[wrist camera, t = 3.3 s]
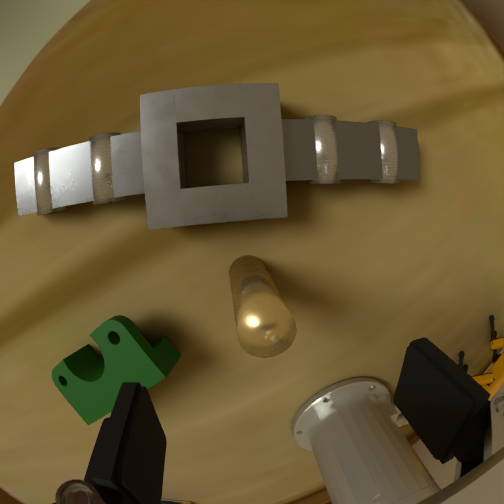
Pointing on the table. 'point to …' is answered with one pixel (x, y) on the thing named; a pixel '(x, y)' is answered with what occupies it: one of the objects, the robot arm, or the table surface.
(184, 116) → the grey metal bar
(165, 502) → the medicine bottle
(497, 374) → the robot dog
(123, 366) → the clamp
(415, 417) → the robot arm
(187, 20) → the table surface
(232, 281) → the pin
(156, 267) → the table surface
